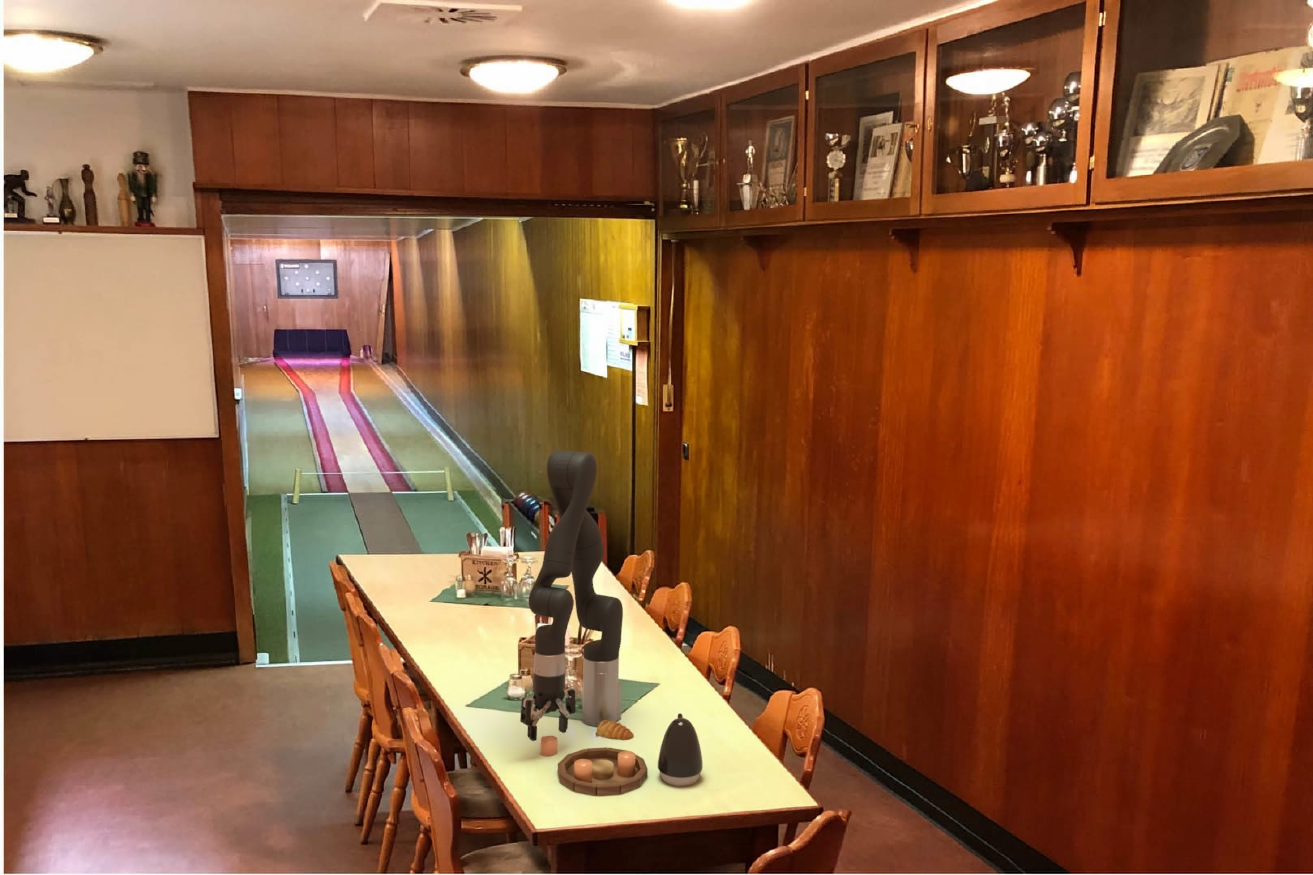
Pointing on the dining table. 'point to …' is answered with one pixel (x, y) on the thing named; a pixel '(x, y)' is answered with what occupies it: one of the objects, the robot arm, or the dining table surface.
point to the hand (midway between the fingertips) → (547, 735)
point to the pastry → (613, 731)
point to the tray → (601, 784)
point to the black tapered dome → (680, 754)
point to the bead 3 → (626, 764)
